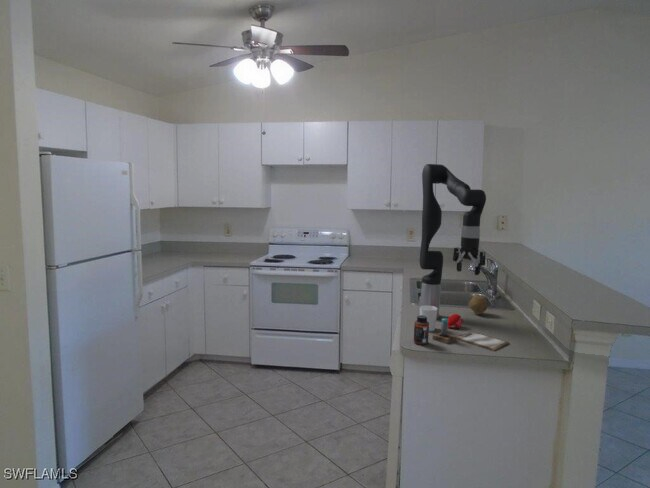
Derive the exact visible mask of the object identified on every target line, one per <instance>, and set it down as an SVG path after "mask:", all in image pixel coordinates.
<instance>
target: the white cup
mask: <svg viewBox="0 0 650 488" xmlns="http://www.w3.org/2000/svg"><path fill="white" fill-rule="evenodd" d="M420 315H423V316H426V317H427V322H428V323H429V332H434V331H435V330H436V325H437V319H438V318H437V308H436V307H434V306H420ZM436 318H437V319H436Z"/></svg>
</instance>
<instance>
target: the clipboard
mask: <svg viewBox="0 0 650 488" xmlns="http://www.w3.org/2000/svg"><path fill="white" fill-rule="evenodd" d="M456 341H461V342H464V343H466V344H470V345H474V346H477V347H479V348H483V349H486V350H489V351H493V352H495V351H497V350H499V349H501V348H504V347H506V346H508V345H510V341H506V340H503V339H499V338H495V337H492V336H490V335H489V336H488V335H486V334H481V333H479V332H475V331H471V330H470V331H465V332H463V333H460V334H459V335H456Z"/></svg>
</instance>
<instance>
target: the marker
mask: <svg viewBox="0 0 650 488" xmlns="http://www.w3.org/2000/svg"><path fill="white" fill-rule="evenodd" d="M440 328H441V330H440V332H441V336H443V337H447V333H448V329H449V328H448V318H446V317H444V318H441V327H440Z"/></svg>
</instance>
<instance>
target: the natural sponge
mask: <svg viewBox="0 0 650 488" xmlns="http://www.w3.org/2000/svg"><path fill="white" fill-rule="evenodd" d="M468 308H469V309H470V310H472V311H473V313H475V314H476V315H478V316H480V315H482V314H483V313H484V312H486V311H487V309H488V301H487V299H486V298H485V297H484V296H482V295H479V294H478V295H475V296H473V297H472V298H471V299H470V301H468Z"/></svg>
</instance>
